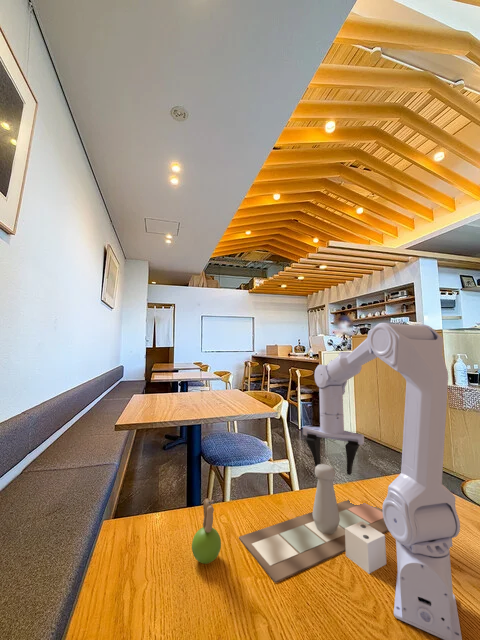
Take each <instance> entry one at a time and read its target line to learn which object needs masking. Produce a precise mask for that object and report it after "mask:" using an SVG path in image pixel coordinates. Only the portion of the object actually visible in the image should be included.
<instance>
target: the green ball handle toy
mask: <svg viewBox="0 0 480 640" xmlns="http://www.w3.org/2000/svg"><path fill="white" fill-rule="evenodd" d="M214 503H215V500H214V499H212V500H211V499H210V498H205V499H204V500H203V507H202V508H203V522H202V527H201V528H200V529H198V530H197V532H196V533H195V534H194V536H193V538H192V542H191V551H192V555H193V557H194V558H195V560H196V561H197V562H199V563H200V564H202V565H203V564H205V565H207V564H210V563H212V562H214V561H215V560H216V559H217V557H219V554H220V552H221V548H222V540H221V536H220V533H219V532H218V530H217V529H216V528H214V527H213V523H214V511H215V510H214Z"/></svg>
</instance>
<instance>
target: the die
mask: <svg viewBox="0 0 480 640" xmlns="http://www.w3.org/2000/svg"><path fill="white" fill-rule="evenodd" d="M345 546H346V551H345V557H346V558H348V559H349V560H350V561H352V562H353V563H354V564H356V565H357V566H358V567H359V568H360V569H362V570H363V571H364V572H366V573H367V574H371V573H373V572H375V571H377V570H378V569H380V568H382V567H384V566H386V565H387V552H386V551H387V549H386V535H385V533H383V534H382V533H381V532H379V531H377V530H376V529H374V528H372V527H371V526H369V525H367V524H366V523H364V522H363V521H361V522H359V523H356V524H354V525H351V526H349V527H346V528H345Z"/></svg>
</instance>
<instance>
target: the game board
mask: <svg viewBox="0 0 480 640" xmlns="http://www.w3.org/2000/svg"><path fill="white" fill-rule="evenodd" d="M337 506H338V511H339V516H340V522H339V524H338V527H337V530H336V531H335V532H334V533H333V534H324V533H322V532H321V531H319V530H318V529H317V527H316V525H315V522H314V519H313V515H312V513H313V511H311V512H308V513H305V514H302V515H299V516H296V517H294V518H290V519H287V520H285V521H282V522H278V523H276V524H273V525H270V526H267V527H263V528H261V529H258V530H254V531H252V532H250V533H246V534H243V535H240V536H238V539H239V541H240V542H241V543H242V544H243V546H244V547H245V548H246V549H247V551H248V552H249V553H250V554H251V556H253V558H254V559H255V560H256V561H257V563H258V564H259V565H260V566H261V568H262V569H263V570H264V571H265V573H266V574H267V575H268V576H269V578H270V579H271V580H272V581H273V582H274V584H278V583H279V582H282V581H283V580H286V579H288V578H290V577H291V576H294V575H296V574H298V573H301V572H303V571H306V570H308V569H309V568H312V567H314V566H316V565H318V564H321V563H322V562H324V561H327V560H330V558H333V557H335V556H337V555H340V554H342V553H344V552H346V546H345V528H346V527H349V526H351V525H354V524H356V523H359V522H361V521H363V522H364V523H366V524H367V525H369V526H371V527H372V528H374V529H376V530H377V531H379V532H381V533H382V534H385V533H388V532H389V530H388V528H387V526H386V524H385V521H384V518H383V508H380V507H378V506H376V507H373V506H370V505H368V504H366V503H363V504H360V505H354V504H352V503H350V501H349V499H347V501H346V500H344V501H341V502H338V503H337ZM377 507H378V508H377Z"/></svg>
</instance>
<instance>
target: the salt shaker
mask: <svg viewBox="0 0 480 640" xmlns="http://www.w3.org/2000/svg"><path fill="white" fill-rule="evenodd" d="M314 474H315V477H316V478H317V483H316V484H317V485H316V488H315V489H316V491H315V496H314V503H313V510H312V512H313V513H312V515H313V519H314V522H315V525H316V527H317V529H318V530H319V531H321V532H322V533H324V534H333V533H334V532H335V531H336V530H337V527H338V524H339V522H340V516H339V511H338V506H337V498H336V497H337V496H336V491H335V487H334V482H333V480H334V479H335V476H336V472H335V469H334V468H333V467H332V466H331V465H328V464H325V463H322V464H321V463H320V464H319V465H317V466H316V467H314Z"/></svg>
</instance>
